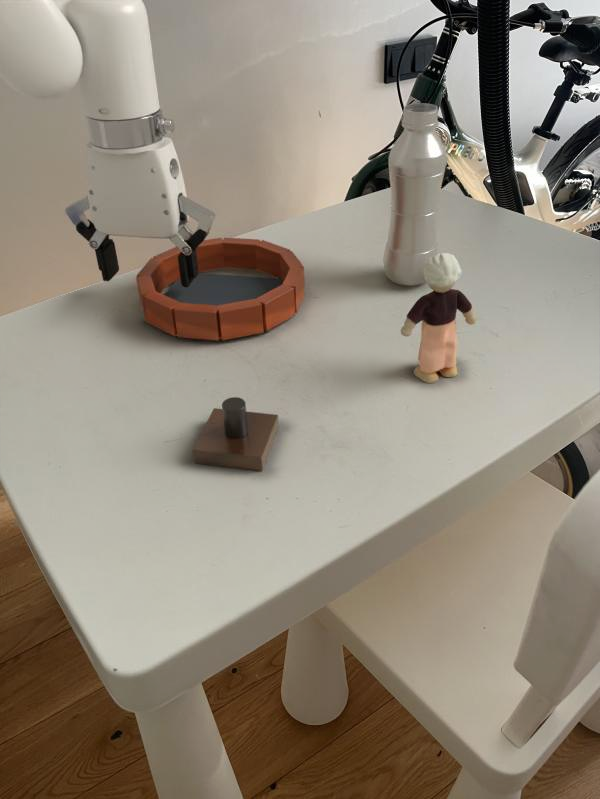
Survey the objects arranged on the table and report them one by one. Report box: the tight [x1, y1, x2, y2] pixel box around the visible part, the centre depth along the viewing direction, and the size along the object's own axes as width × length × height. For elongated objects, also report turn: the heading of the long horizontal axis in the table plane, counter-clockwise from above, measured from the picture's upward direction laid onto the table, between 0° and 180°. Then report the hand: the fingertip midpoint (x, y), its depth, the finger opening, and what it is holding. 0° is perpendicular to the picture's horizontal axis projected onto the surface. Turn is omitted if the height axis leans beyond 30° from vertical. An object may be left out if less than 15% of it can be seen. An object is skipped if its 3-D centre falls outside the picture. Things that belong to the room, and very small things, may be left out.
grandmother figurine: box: [400, 252, 477, 384], centre depth 69 cm, size 8×4×13 cm, turn 121°
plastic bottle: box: [382, 102, 448, 286], centre depth 83 cm, size 6×7×20 cm
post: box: [192, 396, 280, 472], centre depth 63 cm, size 6×6×4 cm
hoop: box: [135, 237, 306, 341], centre depth 85 cm, size 19×19×3 cm
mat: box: [146, 272, 283, 334], centre depth 86 cm, size 14×12×1 cm
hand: (149, 279), depth 86 cm, fingers open, 9 cm apart
